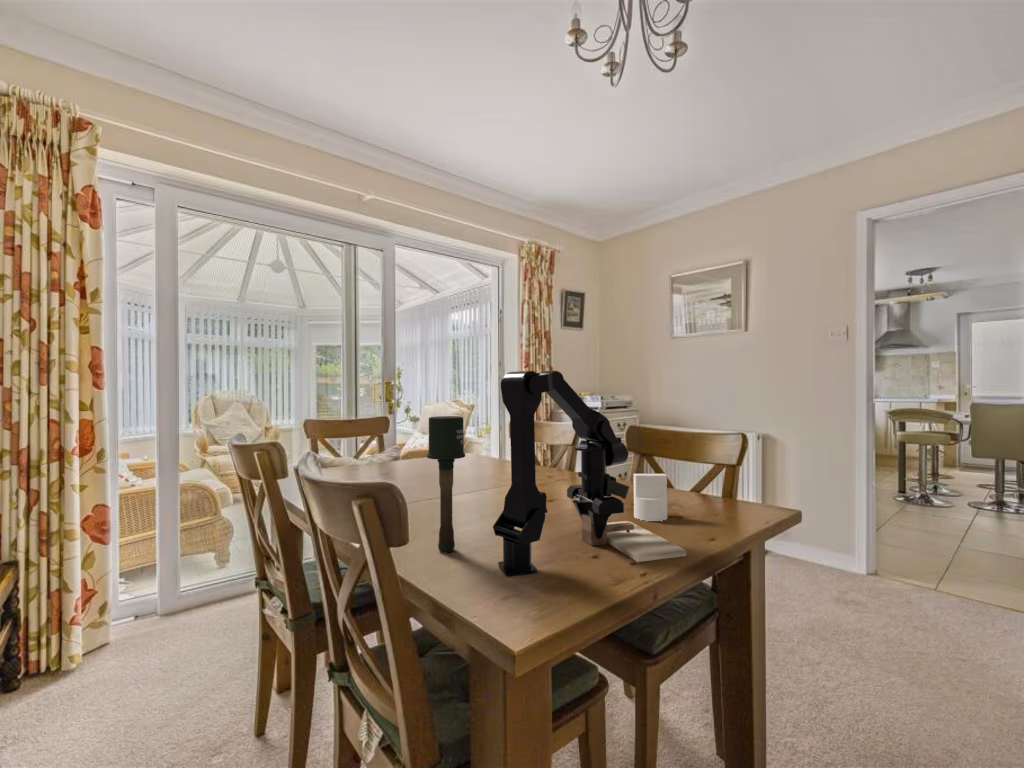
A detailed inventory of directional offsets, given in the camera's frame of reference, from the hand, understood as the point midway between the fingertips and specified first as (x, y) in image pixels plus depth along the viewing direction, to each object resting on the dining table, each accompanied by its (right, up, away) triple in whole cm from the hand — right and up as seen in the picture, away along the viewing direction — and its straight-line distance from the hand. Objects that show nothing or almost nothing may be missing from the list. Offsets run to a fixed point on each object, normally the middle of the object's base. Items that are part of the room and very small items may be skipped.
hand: (594, 534), depth 110 cm
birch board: (+9, -2, 0) cm, 9 cm away
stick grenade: (-34, -2, -5) cm, 35 cm away
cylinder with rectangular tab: (+20, -2, +21) cm, 29 cm away
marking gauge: (+4, -1, +1) cm, 4 cm away
